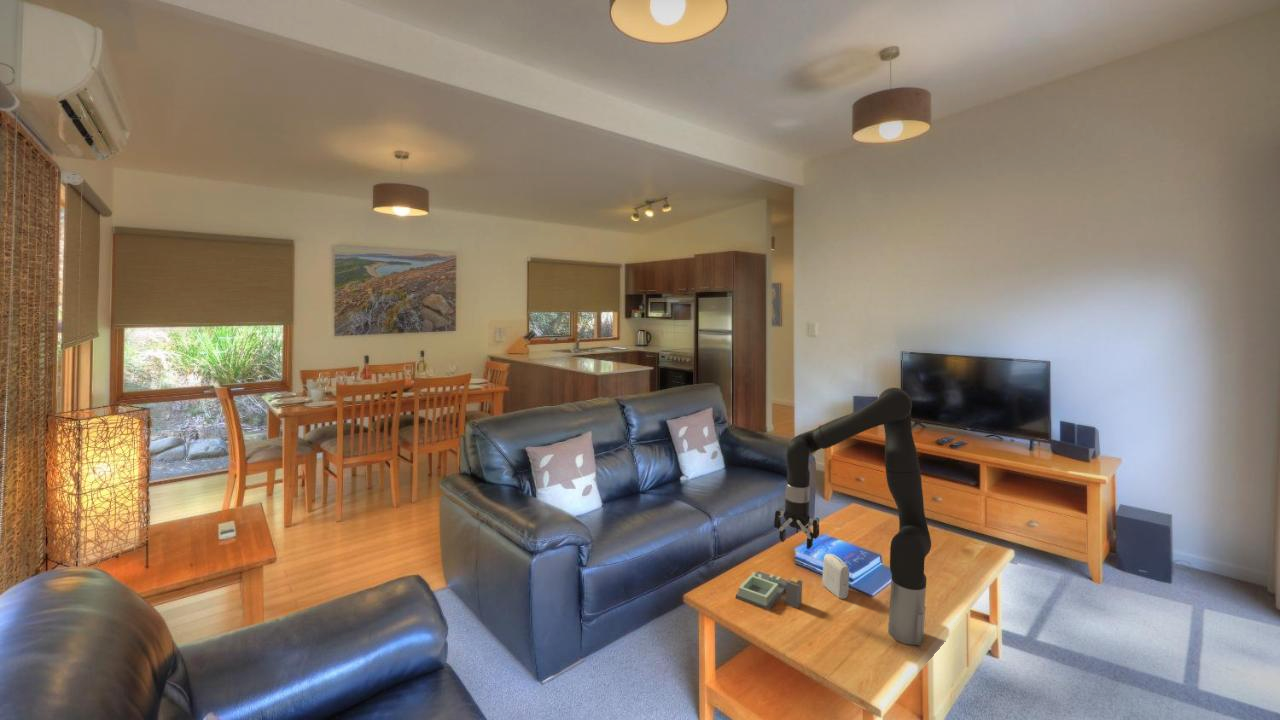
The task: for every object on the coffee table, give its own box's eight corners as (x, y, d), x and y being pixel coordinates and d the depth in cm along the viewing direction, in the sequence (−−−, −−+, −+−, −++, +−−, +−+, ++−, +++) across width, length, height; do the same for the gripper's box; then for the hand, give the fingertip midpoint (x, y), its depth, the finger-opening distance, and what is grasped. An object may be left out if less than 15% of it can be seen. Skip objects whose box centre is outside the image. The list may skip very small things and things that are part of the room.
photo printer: (850, 598, 175) (851, 563, 173) (839, 600, 173) (841, 565, 172) (830, 582, 184) (832, 549, 183) (820, 584, 183) (821, 551, 182)
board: (790, 584, 183) (790, 575, 182) (769, 610, 167) (769, 600, 167) (758, 574, 190) (758, 564, 189) (735, 598, 175) (735, 587, 174)
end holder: (777, 592, 176) (778, 584, 176) (766, 606, 168) (766, 597, 168) (750, 582, 182) (751, 574, 181) (738, 595, 174) (738, 587, 173)
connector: (801, 603, 172) (802, 578, 171) (797, 608, 169) (798, 584, 168) (789, 598, 174) (790, 575, 173) (785, 604, 171) (786, 580, 170)
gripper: (823, 498, 166) (821, 546, 168) (780, 489, 174) (779, 534, 176) (815, 506, 160) (813, 555, 162) (772, 496, 168) (770, 542, 170)
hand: (795, 544), depth 169 cm, fingers open, 8 cm apart
